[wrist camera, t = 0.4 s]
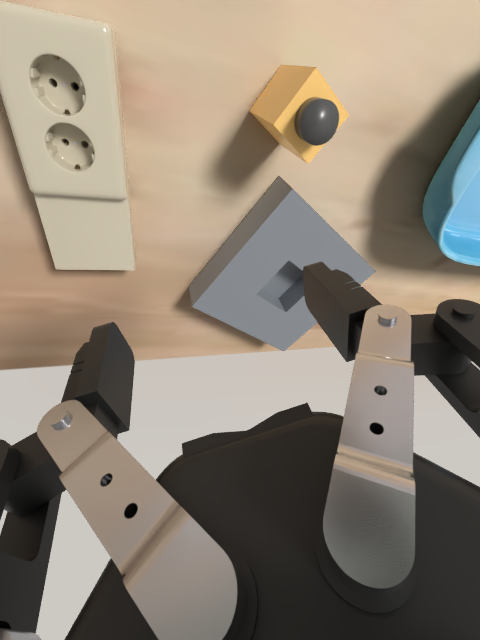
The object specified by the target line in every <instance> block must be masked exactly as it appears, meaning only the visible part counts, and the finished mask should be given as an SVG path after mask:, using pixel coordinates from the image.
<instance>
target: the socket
mask: <svg viewBox="0 0 480 640" xmlns="http://www.w3.org/2000/svg"><path fill="white" fill-rule="evenodd" d="M320 261H322V262H323V263H324V264H325V265H326V266H327V267H328V268H329V269H331V270H335V269H337V270H340V271H342V272H345V273H348V274H349V275H350V276H351V277H352V278H353V279H354V280H355V282H357V283H359V284H360V285H361V284H362V283H363V282H364V281H365V280H366V279H368V278H369V277H370V276H371V275H372V274H373V273H374V272H376V271H375V270H374V269H373V268H372V267H371V266H370V265H369V264H368V263H367V262H366V261H365V260H364V259H363V258H362V257H361V256H360V255H359V254H358V253H357V252H356V251H355V250H354V249H353V248H352V247H351V246H350V245H349V244H348V243H347V242H346V241H345V240H344V239H343V238H342V237H341V236H340V235H339V234H338V233H337V232H336V231H335V230H334V229H333V228H332V227H331V226H330V225H329V224H328V223H327V222H326V221H325V220H324V219H323V218H322V217H321V216H320V215H319V214H318V213H317V212H316V211H315V210H314V209H313V208H312V207H311V206H310V205H309V204H308V203H307V202H305V201H304V200H303V199H302V198H301V197H300V196H299V195H298V194H297V193H296V192H295V191H294V190H293V189H292V188H291V187H290V186H289V185H288V184H287V183H286V182H285V181H284V180H283V179H282V178H281V177H280V176H278V178H277V179H276V180H275V181H274V183H273V184H272V185H271V186H270V187H269V189H268V190H267V191H266V192H265V194H264V195H263V196H262V197H261V198H260V200H259V201H258V202H257V203H256V205H255V206H254V207H253V208H252V210H251V211H250V212H249V213H248V214H247V216H246V217H245V218H244V219H243V221H242V222H241V223H240V224H239V225H238V227H237V228H236V229H235V230H234V232H233V233H232V234H231V235H230V236H229V238H228V239H227V240H226V241H225V243H224V244H223V245H222V246H221V248H220V249H219V250H218V251H217V252H216V254H215V255H214V256H213V257H212V259H211V260H210V261H209V262H208V263H207V265H206V266H205V267H204V268H203V270H202V271H201V272H200V273H199V274H198V276H197V277H196V278H195V279H194V281H193V282H192V283H191V284H190V286H189V292H190V298H191V305H192V307H193V308H195V309H197V310H199V311H201V312H204V313H206V314H208V315H210V316H212V317H214V318H216V319H218V320H220V321H222V322H224V323H226V324H228V325H230V326H232V327H234V328H236V329H239V330H241V331H243V332H245V333H247V334H249V335H251V336H253V337H255V338H257V339H259V340H261V341H263V342H265V343H267V344H269V345H272V346H274V347H276V348H278V349H280V350H282V351H285V350H286V349H287V348H288V347H290V346H291V345H292V344H293V343H294V342H295V341H296V340H298V339H299V338H300V337H301V336H302V335H303V334H305V333H306V332H307V331H308V330H309V329H310V328H311V327H313V326H314V325H315V324H316V323H317V321H316V319H315V318H314V317H313V315H312V314H311V313H310V311H309V310H308V308H307V305H306V302H305V297H304V283H303V267H304V266H307V265H310V264H314V263H317V262H320Z"/></svg>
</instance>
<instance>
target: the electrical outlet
mask: <svg viewBox="0 0 480 640" xmlns="http://www.w3.org/2000/svg"><path fill="white" fill-rule="evenodd" d="M55 80H56V81H55ZM56 82H57V83H56ZM76 83H77V84H78V86H79V88H78V87H77V85H76ZM0 93H1V96H2V99H3V103H4V106H5V109H6V113H7V116H8V119H9V123H10V126H11V129H12V133H13V136H14V139H15V143H16V146H17V149H18V153H19V156H20V159H21V163H22V166H23V169H24V173H25V176H26V179H27V183H28V186H29V189H30V191H31V192H33V194H34V197H35V200H36V204H37V207H38V211H39V214H40V217H41V221H42V224H43V228H44V231H45V234H46V238H47V241H48V244H49V248H50V251H51V255H52V258H53V261H54V265H55V268H56V269H60V270H135V262H136V252H135V241H134V230H133V219H132V207H131V196H130V185H129V174H128V163H127V151H126V140H125V129H124V118H123V106H122V95H121V84H120V73H119V62H118V50H117V39H116V32H115V30H114V28H113V27H112V26H110V25H109V24H107V23H105V22H101V21H96V20H92V19H87V18H83V17H78V16H73V15H69V14H64V13H59V12H55V11H50V10H45V9H41V8H36V7H32V6H27V5H22V4H18V3H13V2H8V1H4V0H0Z"/></svg>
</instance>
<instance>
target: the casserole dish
mask: <svg viewBox="0 0 480 640" xmlns="http://www.w3.org/2000/svg"><path fill="white" fill-rule="evenodd" d="M423 219H424V223H425V225H426V228H427V230H428V231H429V233H430V235H431V236H432V238H433V239H434V241H435V243H436V244H437V246H438V248H439V249H440V251H441V252H442V253H443V254H444V255H445V256H446V257H448V258H449V259H451V260H453V261H456V262H459V263H463V264H468V265H474V266H480V100H479V101H478V103H477V105H476V106H475V108H474V110H473V111H472V113H471V114H470V116H469V118H468V119H467V121H466V122H465V124H464V126H463V127H462V129H461V131H460V132H459V134H458V136H457V137H456V139H455V141H454V142H453V144H452V146H451V147H450V149H449V151H448V152H447V154H446V156H445V158H444V159H443V161H442V163H441V164H440V166H439V168H438V169H437V171H436V173H435V175H434V177H433V179H432V181H431V183H430V185H429V187H428V189H427V192H426V195H425V197H424V202H423Z"/></svg>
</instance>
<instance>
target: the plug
mask: <svg viewBox="0 0 480 640" xmlns="http://www.w3.org/2000/svg"><path fill="white" fill-rule="evenodd" d="M250 112H251V113H252V114H253V115H254V117H255V118H256V119H257V120H258V121H259V122H260V123H261V124H262V125H263V126H264V127H265V129H266V130H267V131H268V132H269V133H270V134H271V135H272V136H273V137H274V138H275V139H276V140H277V142H278V143H279V144H281V145H282V146H283V147H285V148H286V149H288V150H289V151H291V152H292V153H294V154H295V155H296V156H298V157H299V158H301V159H302V160H304V161H305V162H306V163H309V162H310V161H311V160H312V159H313V157H314V156H315V155H316V154H317V153H318V152H319V150H320V149H321V148H322V147H323V146H324V144H325V143H326V142H328V141H329V140H330V139H331V138H332V136H333V135H334V134H335V132H336V130H337V129H338V128H339V127H340V126H341V124H342V123H343V122H344V121H345V120H346V118H347V117H348V116H349V115H348V113H347V112H346V110H345V109H344V107H343V106H342V104H341V103H340V101H339V100H338V98H337V97H336V95H335V94H334V92H333V91H332V90H331V88H330V87H329V85H328V84H327V82H326V81H325V79H324V78H323V76H322V75H321V73H320V72H319V70H318V69H317V68H316V67H306V66H292V65H281V66H280V67H279V69H278V70H277V72H276V73H275V75H274V76H273V77H272V79H271V80H270V82H269V83H268V85H267V86H266V88H265V89H264V90H263V92H262V93H261V95H260V96H259V98H258V99H257V100H256V102H255V103H254V105H253V106H252V108H251V109H250Z"/></svg>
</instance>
